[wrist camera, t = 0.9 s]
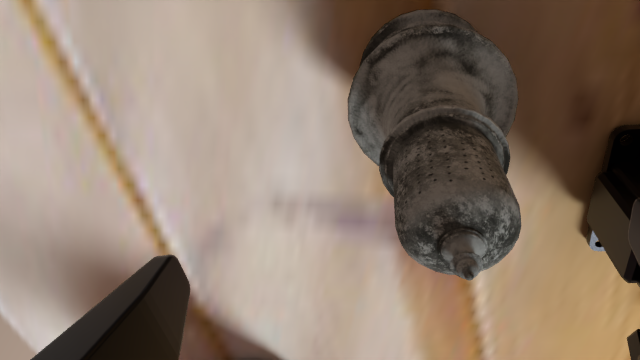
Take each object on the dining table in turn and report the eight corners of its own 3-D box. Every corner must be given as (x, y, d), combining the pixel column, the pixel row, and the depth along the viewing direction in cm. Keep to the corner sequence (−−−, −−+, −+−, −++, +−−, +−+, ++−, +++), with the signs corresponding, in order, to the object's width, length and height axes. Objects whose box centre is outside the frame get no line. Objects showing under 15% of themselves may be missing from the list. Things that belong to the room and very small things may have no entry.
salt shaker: (361, -7, 18) (340, 130, 8) (515, 9, 18) (692, 173, 8) (344, 129, 21) (314, 351, 11) (475, 145, 21) (564, 386, 11)
